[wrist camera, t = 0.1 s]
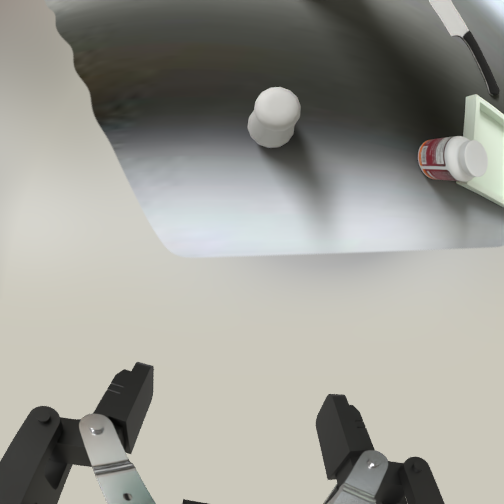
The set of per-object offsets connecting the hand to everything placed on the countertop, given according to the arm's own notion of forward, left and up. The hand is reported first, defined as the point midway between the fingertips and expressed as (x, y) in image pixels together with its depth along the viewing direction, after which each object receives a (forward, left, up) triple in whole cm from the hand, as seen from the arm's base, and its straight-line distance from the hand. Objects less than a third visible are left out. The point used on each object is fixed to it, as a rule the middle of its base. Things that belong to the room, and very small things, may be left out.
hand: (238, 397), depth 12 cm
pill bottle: (-19, +25, -29) cm, 43 cm away
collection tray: (-25, +38, -29) cm, 54 cm away
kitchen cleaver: (-49, +28, -30) cm, 64 cm away
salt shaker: (-16, 0, -29) cm, 33 cm away
